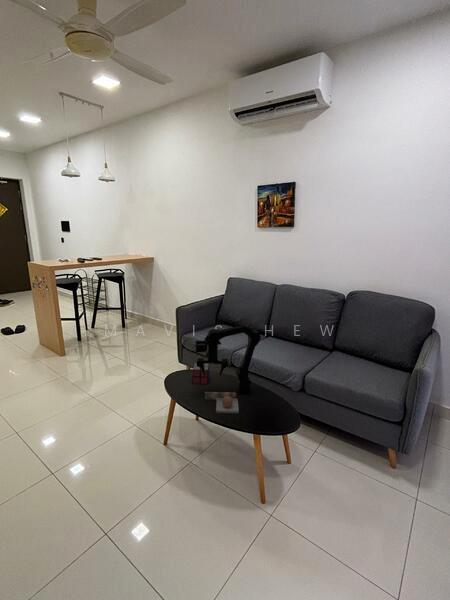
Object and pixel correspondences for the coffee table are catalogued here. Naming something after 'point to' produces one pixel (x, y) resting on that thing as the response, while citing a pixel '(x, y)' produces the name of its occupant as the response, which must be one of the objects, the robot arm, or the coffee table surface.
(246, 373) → the robot arm
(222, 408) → the coaster tray
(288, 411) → the coffee table surface
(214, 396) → the rail
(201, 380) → the puzzle cube
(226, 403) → the ball
